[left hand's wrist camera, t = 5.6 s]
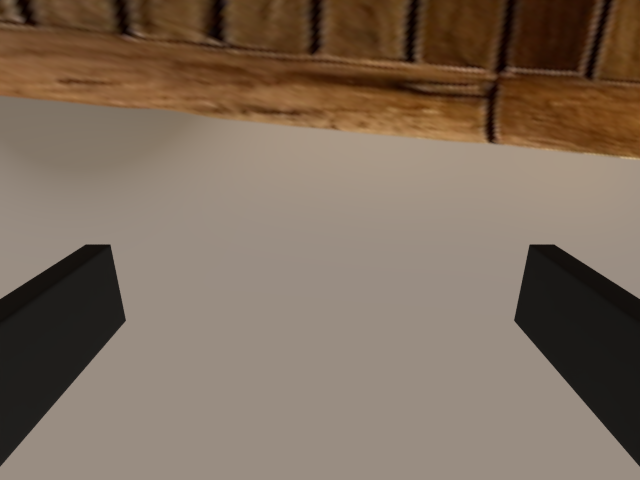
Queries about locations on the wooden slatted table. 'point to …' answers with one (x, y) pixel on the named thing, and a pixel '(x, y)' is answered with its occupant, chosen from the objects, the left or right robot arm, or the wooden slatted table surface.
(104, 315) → the left robot arm
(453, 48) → the wooden slatted table surface
